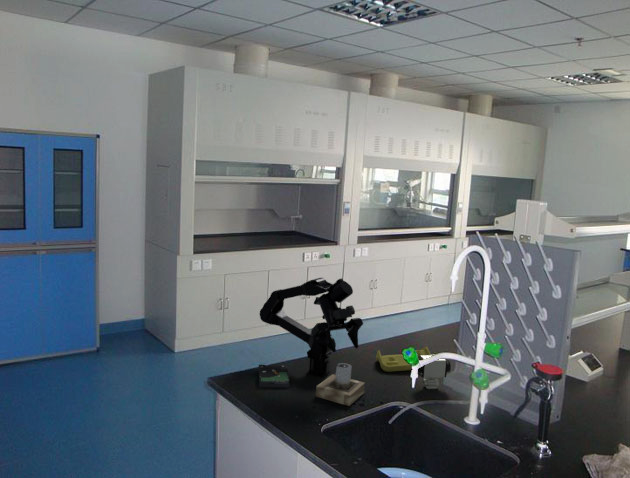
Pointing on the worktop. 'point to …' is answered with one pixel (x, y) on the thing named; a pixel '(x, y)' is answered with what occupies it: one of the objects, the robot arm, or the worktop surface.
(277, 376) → the disk drive
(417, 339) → the worktop surface
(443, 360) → the pneumatic valve
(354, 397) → the square wooden tray
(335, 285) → the robot arm
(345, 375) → the bushing
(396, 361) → the plastic component
